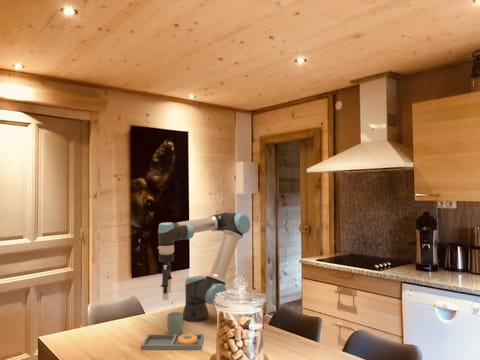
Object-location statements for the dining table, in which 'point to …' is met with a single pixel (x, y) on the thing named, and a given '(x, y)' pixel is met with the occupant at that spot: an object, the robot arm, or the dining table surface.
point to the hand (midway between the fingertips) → (166, 296)
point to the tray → (169, 342)
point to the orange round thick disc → (187, 339)
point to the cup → (175, 322)
